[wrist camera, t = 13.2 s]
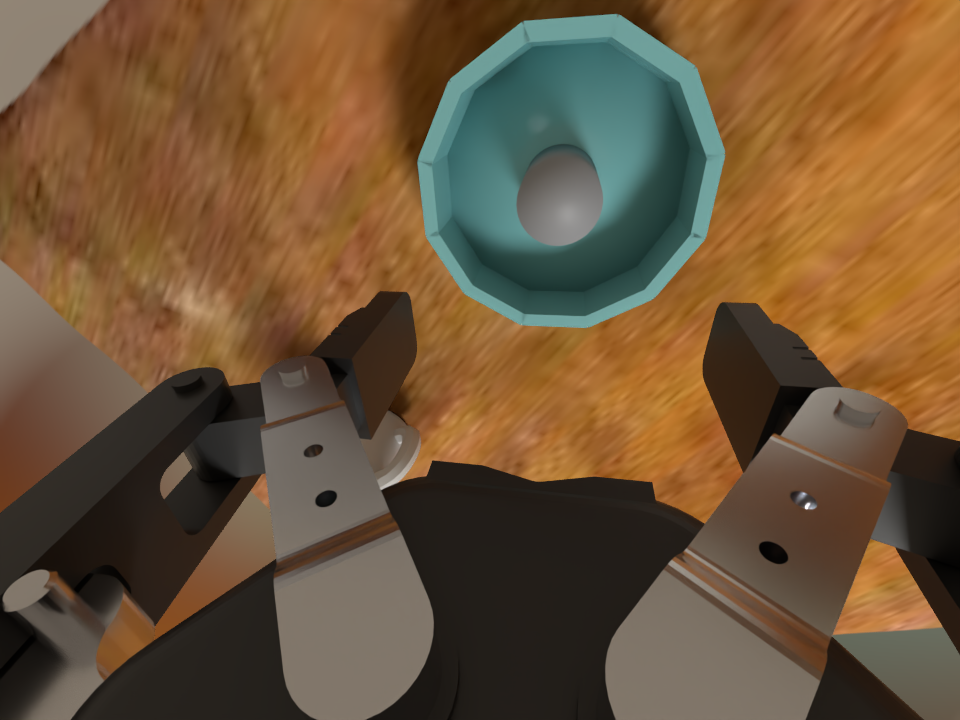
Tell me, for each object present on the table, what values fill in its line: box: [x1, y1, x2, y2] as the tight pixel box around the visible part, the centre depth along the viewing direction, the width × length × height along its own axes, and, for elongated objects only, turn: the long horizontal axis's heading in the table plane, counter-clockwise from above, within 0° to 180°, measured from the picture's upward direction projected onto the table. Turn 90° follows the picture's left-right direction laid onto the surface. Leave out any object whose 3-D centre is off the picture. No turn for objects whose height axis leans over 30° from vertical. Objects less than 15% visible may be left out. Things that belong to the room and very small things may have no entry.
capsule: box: [516, 144, 603, 246], centre depth 25 cm, size 4×4×5 cm
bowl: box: [417, 14, 725, 328], centre depth 26 cm, size 16×16×4 cm
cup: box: [360, 411, 421, 490], centre depth 38 cm, size 7×10×9 cm
